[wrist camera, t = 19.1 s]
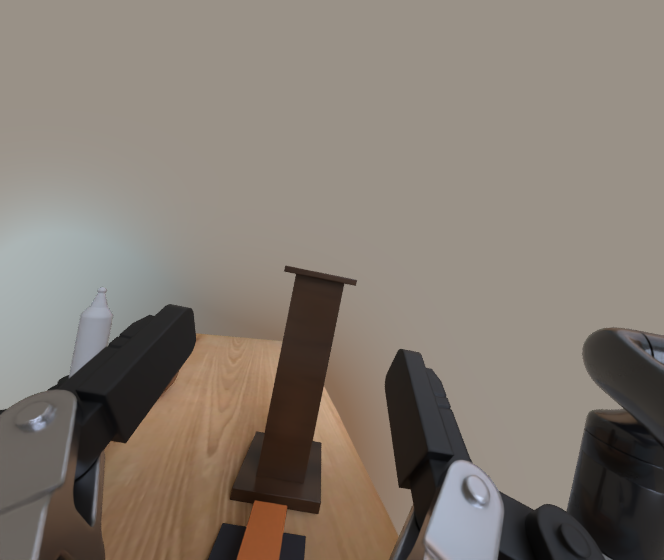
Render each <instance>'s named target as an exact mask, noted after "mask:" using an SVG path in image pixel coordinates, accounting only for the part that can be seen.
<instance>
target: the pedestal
mask: <svg viewBox="0 0 664 560" xmlns="http://www.w3.org/2000/svg"><path fill="white" fill-rule="evenodd" d="M284 271H285V272H290V273H295V274H296V277H295V282H294V287H293V292H292V297H291V302H290V307H289V313H288V318H287V323H286V328H285V333H284V338H283V343H282V348H281V353H280V358H279V363H278V368H277V373H276V378H275V383H274V388H273V393H272V398H271V403H270V408H269V413H268V418H267V423H266V428H265V433H263V432H256V434H255V436H254V438H253V441H252V443H251V446H250V448H249V450H248V453H247V455H246V457H245V460H244V462H243V464H242V467H241V469H240V471H239V474H238V476H237V478H236V481H235V483H234V485H233V488H232V492H231V497H230V500H236V501H242V502H249V503H254V501H255V500H256V501H262V502H268V503H274V504H280V505H286V506H287V509H292V510H298V511H304V512H310V513H316V514H318V513H319V508H320V504H321V443H320V442H315V441H313V436H314V431H315V426H316V421H317V416H318V411H319V406H320V401H321V397H322V392H323V387H324V381H325V377H326V372H327V367H328V362H329V357H330V352H331V347H332V342H333V337H334V332H335V327H336V322H337V317H338V312H339V306H340V302H341V297H342V292H343V287H344V283H345V284H350V285H355V286H356V282H357V280H354V279H349V278H344V277H339V276H334V275H329V274H324V273H319V272H314V271H309V270H304V269H299V268H295V267H290V266H285V270H284Z"/></svg>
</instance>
